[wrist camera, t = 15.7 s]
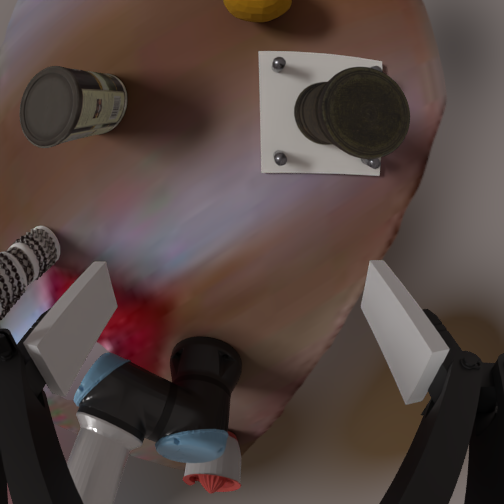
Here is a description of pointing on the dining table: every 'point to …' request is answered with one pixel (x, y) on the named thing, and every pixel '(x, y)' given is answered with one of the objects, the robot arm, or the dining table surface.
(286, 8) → the apple
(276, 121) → the locating plate
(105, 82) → the coffee can
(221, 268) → the dining table surface
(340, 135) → the container
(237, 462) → the citrus juicer
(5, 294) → the decorative candle
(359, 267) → the dining table surface
